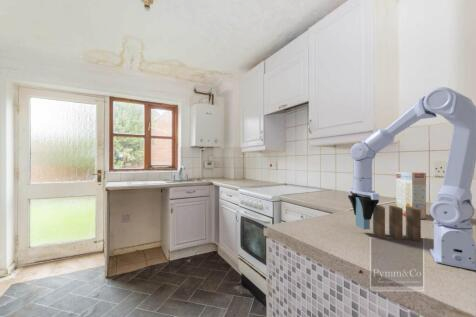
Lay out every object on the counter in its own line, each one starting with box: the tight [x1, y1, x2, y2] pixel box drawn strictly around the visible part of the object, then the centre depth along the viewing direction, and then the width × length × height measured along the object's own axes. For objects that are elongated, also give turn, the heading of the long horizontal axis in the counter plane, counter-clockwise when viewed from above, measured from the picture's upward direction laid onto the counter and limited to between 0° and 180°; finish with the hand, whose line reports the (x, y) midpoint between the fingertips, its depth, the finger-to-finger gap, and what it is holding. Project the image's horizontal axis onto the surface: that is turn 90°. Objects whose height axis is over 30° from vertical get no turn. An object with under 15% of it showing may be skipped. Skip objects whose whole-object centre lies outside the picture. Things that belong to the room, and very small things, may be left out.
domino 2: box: [372, 204, 386, 239], centre depth 75 cm, size 2×5×10 cm, turn 165°
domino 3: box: [388, 204, 404, 240], centre depth 73 cm, size 2×5×10 cm, turn 165°
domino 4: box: [405, 206, 422, 242], centre depth 72 cm, size 2×5×10 cm, turn 165°
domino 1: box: [355, 197, 371, 230], centre depth 76 cm, size 2×5×10 cm, turn 1°
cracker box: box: [395, 171, 427, 220], centre depth 104 cm, size 14×6×21 cm, turn 168°
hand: (362, 217), depth 76 cm, fingers closed on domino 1, 5 cm apart
